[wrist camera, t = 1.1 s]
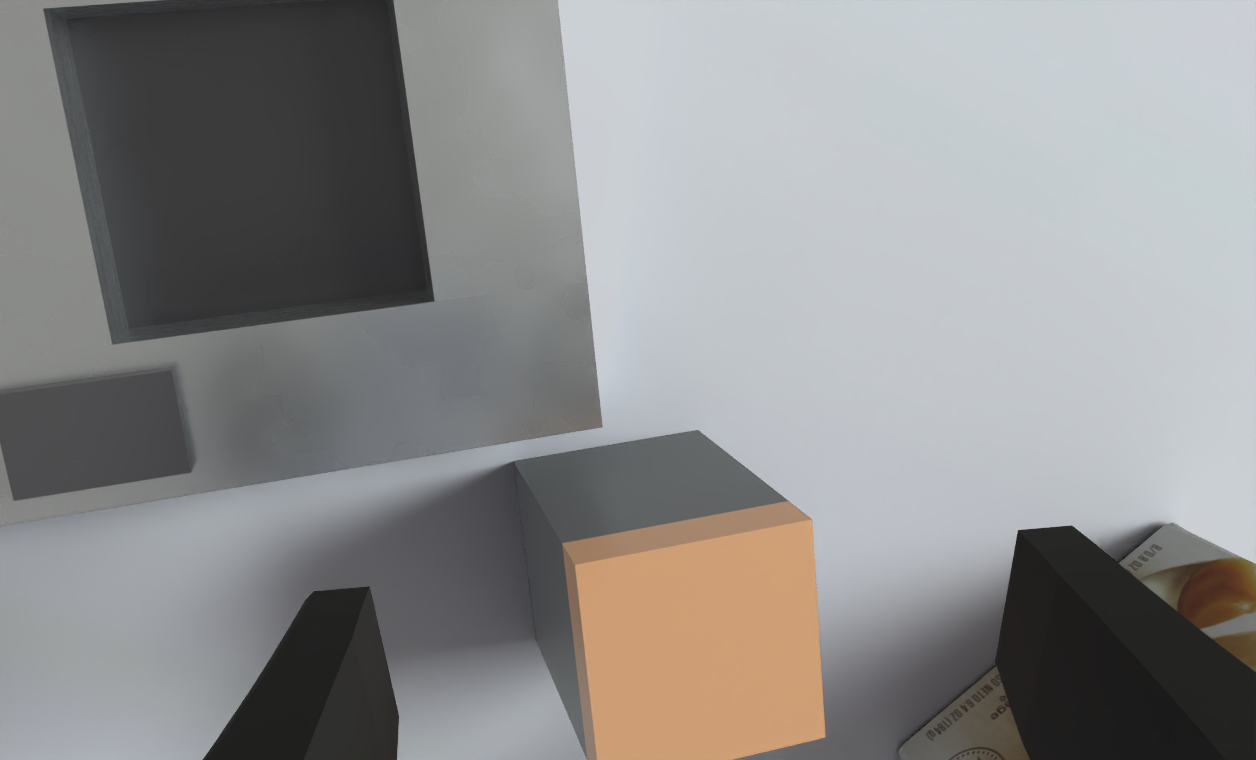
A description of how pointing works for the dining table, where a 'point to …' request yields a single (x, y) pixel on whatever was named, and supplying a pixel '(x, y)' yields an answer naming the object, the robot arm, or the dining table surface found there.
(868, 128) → the dining table surface
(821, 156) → the dining table surface
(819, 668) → the plug
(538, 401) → the socket plate
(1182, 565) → the coffee box
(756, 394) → the dining table surface
